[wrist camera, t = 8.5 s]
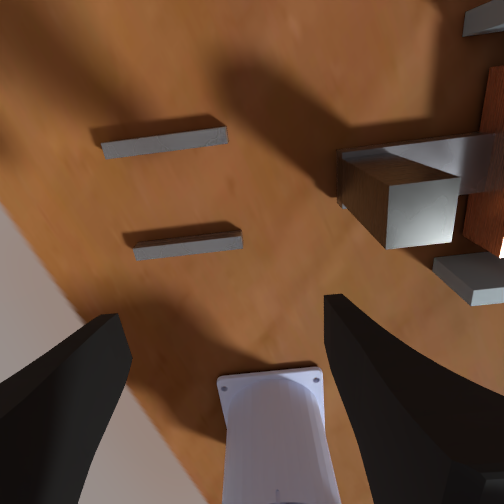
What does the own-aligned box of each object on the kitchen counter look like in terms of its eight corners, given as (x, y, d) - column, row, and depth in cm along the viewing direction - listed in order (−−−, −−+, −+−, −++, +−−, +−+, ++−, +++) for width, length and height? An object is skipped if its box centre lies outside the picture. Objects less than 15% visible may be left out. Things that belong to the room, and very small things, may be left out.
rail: (243, 242, 20) (243, 248, 19) (141, 253, 20) (136, 260, 19) (226, 125, 17) (225, 127, 16) (108, 141, 17) (100, 143, 17)
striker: (489, 232, 20) (612, 297, 13) (337, 249, 20) (381, 321, 13) (522, 63, 16) (720, 33, 9) (335, 88, 16) (395, 76, 10)
